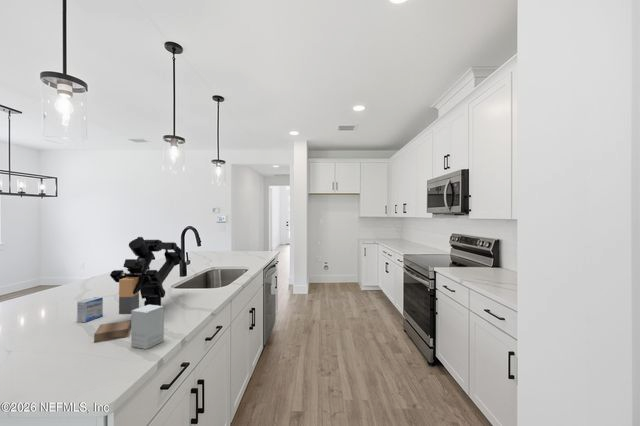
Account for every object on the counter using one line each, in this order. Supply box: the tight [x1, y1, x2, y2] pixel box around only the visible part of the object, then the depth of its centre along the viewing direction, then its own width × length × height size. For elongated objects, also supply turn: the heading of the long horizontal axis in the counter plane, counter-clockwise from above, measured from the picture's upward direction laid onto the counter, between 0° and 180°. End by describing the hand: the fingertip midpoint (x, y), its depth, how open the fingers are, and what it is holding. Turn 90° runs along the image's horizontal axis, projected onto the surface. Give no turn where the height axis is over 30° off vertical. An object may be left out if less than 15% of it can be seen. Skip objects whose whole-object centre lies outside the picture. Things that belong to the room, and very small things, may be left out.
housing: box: [118, 277, 140, 315], centre depth 116 cm, size 5×5×14 cm
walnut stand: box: [93, 319, 131, 343], centre depth 107 cm, size 10×10×3 cm
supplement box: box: [130, 304, 165, 350], centre depth 99 cm, size 7×7×13 cm
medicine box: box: [76, 296, 104, 323], centre depth 123 cm, size 8×4×9 cm, turn 169°
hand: (127, 293), depth 115 cm, fingers closed on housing, 5 cm apart
